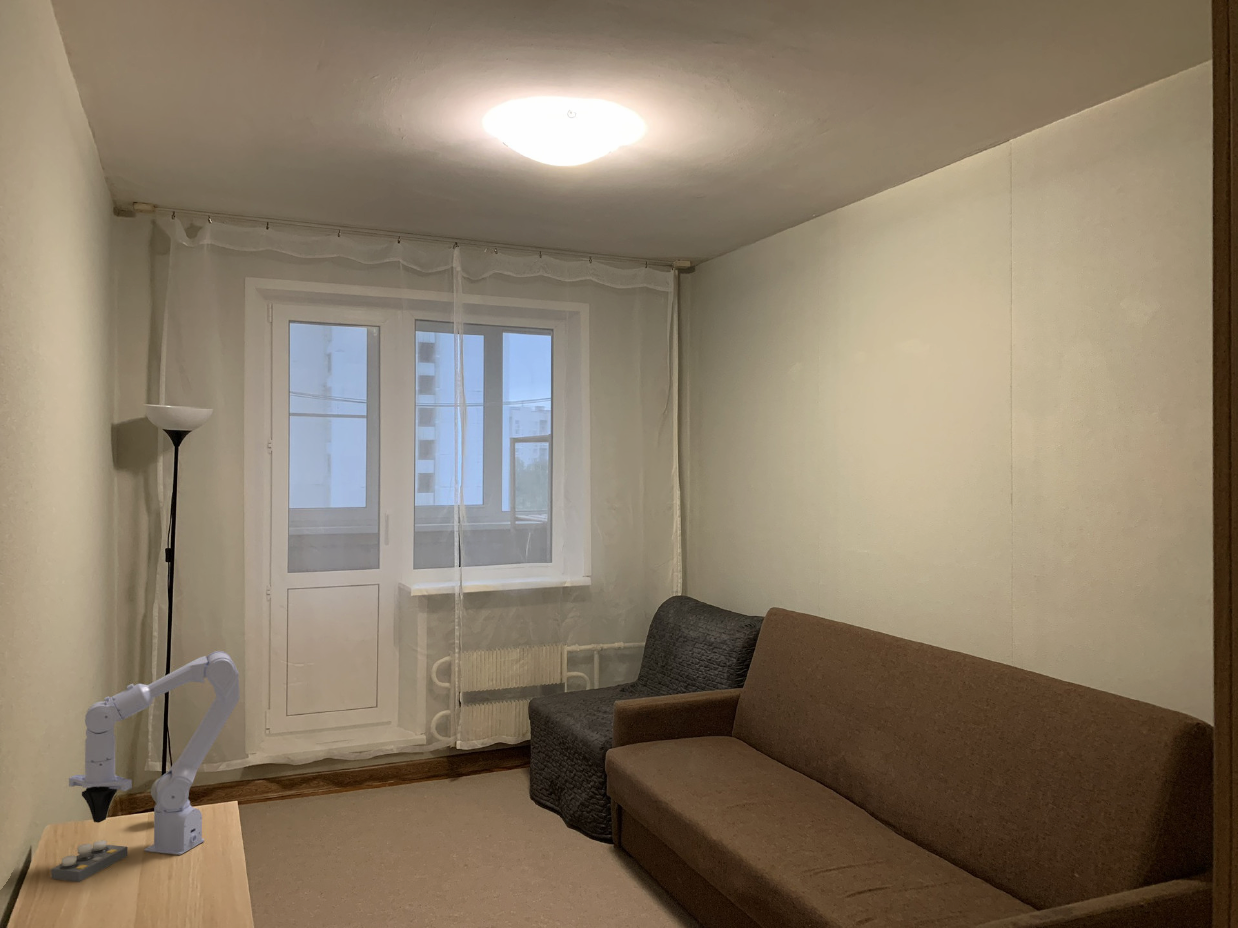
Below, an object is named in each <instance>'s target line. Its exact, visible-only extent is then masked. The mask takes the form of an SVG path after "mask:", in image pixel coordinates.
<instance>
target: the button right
mask: <svg viewBox="0 0 1238 928" xmlns="http://www.w3.org/2000/svg"><path fill="white" fill-rule="evenodd" d="M107 842H108V841H107V840H97V841H95V842H93V843H92V848H93V850H94V851H99V850H103V849H105V848H106V845H107Z"/></svg>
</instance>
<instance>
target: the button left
mask: <svg viewBox="0 0 1238 928" xmlns="http://www.w3.org/2000/svg"><path fill="white" fill-rule="evenodd" d="M77 856H78V855H74V854H73V855H67V856H64V857H62V858H61V864H62V866H71V865H74V864H76V862H77Z"/></svg>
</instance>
